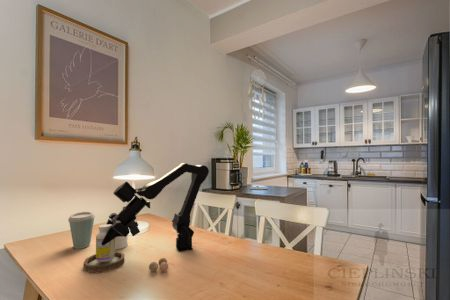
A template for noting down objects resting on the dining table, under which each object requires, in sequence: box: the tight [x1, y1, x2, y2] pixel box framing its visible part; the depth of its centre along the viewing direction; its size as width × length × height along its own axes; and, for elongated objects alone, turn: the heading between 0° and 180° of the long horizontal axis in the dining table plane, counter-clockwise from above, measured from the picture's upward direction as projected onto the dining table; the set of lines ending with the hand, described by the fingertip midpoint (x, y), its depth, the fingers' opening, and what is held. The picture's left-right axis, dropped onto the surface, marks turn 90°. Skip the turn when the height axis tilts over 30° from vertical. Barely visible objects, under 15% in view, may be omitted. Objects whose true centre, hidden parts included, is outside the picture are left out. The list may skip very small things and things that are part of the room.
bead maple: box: [148, 261, 159, 273], centre depth 86 cm, size 3×3×3 cm
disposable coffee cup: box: [67, 211, 95, 250], centre depth 110 cm, size 11×11×15 cm
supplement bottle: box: [95, 223, 116, 262], centre depth 92 cm, size 7×7×13 cm
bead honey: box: [157, 257, 168, 267], centre depth 90 cm, size 3×3×3 cm
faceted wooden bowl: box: [82, 250, 125, 274], centre depth 92 cm, size 14×14×2 cm
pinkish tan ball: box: [158, 262, 169, 273], centre depth 86 cm, size 3×3×3 cm
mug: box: [115, 235, 129, 250], centre depth 109 cm, size 12×8×12 cm
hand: (101, 241), depth 91 cm, fingers closed on supplement bottle, 6 cm apart
